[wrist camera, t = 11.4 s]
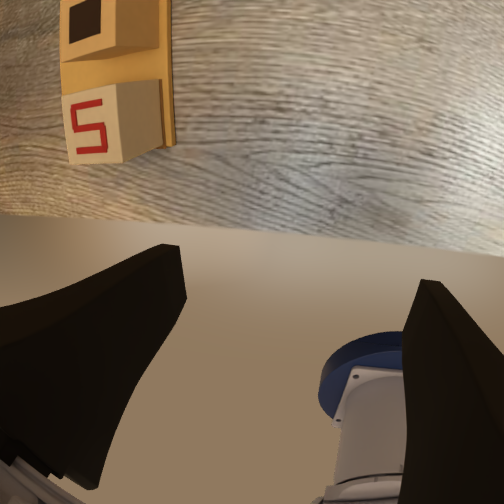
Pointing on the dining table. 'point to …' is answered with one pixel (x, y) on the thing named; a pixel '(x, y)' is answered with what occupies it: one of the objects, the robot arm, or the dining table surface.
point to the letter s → (112, 122)
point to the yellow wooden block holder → (118, 48)
